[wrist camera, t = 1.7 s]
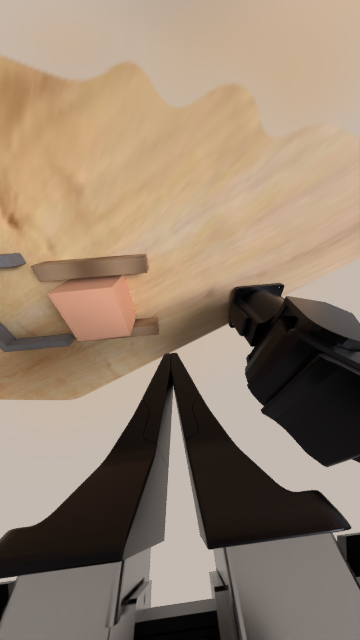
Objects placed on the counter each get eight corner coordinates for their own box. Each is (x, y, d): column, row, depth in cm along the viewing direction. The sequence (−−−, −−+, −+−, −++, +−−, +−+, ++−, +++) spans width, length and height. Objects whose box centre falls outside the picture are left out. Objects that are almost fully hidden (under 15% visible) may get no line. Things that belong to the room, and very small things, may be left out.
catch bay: (19, 253, 15) (6, 255, 14) (74, 338, 22) (69, 345, 20) (-71, 259, 15) (-93, 263, 13) (13, 344, 21) (4, 352, 20)
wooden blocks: (146, 253, 16) (143, 257, 14) (159, 325, 21) (158, 334, 20) (44, 261, 15) (30, 266, 14) (85, 332, 21) (78, 341, 19)
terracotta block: (124, 273, 17) (112, 287, 13) (136, 315, 20) (130, 335, 17) (73, 278, 17) (47, 293, 13) (94, 319, 20) (78, 341, 16)
